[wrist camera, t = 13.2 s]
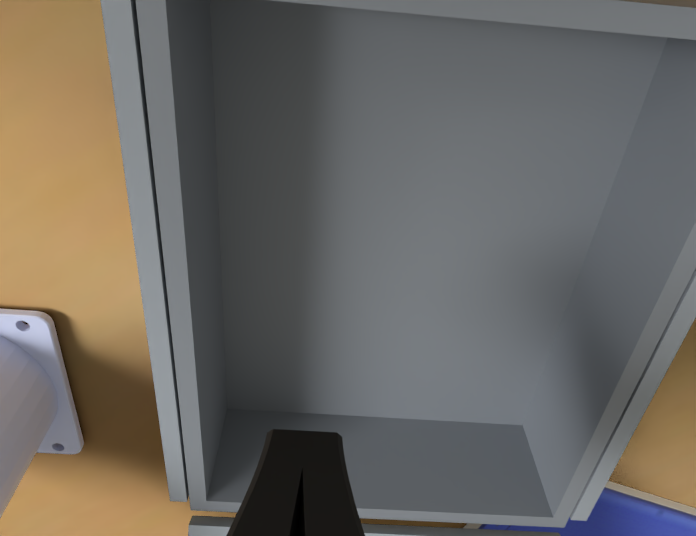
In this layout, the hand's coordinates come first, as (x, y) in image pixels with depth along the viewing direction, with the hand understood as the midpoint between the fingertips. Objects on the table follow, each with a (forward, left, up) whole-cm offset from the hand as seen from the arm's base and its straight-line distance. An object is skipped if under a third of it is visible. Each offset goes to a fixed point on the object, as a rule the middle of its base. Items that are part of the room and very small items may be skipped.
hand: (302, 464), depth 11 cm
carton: (+3, -1, -10) cm, 11 cm away
